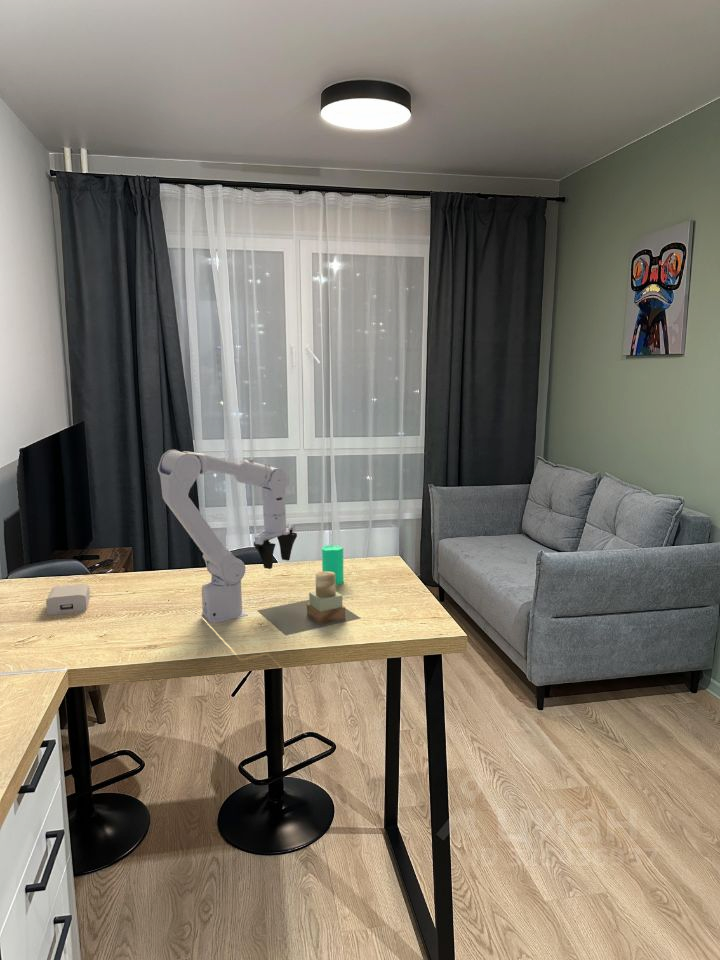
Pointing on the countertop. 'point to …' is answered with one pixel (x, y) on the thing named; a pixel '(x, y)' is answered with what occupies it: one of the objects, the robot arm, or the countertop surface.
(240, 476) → the robot arm
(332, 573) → the tan rounded cylinder
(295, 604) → the mat
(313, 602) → the tower top
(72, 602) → the charger
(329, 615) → the tower base
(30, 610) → the countertop surface
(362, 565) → the countertop surface
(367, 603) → the countertop surface
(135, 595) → the countertop surface
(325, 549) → the candle
